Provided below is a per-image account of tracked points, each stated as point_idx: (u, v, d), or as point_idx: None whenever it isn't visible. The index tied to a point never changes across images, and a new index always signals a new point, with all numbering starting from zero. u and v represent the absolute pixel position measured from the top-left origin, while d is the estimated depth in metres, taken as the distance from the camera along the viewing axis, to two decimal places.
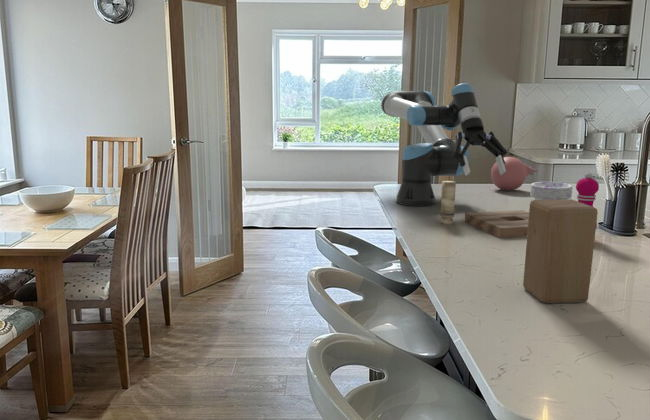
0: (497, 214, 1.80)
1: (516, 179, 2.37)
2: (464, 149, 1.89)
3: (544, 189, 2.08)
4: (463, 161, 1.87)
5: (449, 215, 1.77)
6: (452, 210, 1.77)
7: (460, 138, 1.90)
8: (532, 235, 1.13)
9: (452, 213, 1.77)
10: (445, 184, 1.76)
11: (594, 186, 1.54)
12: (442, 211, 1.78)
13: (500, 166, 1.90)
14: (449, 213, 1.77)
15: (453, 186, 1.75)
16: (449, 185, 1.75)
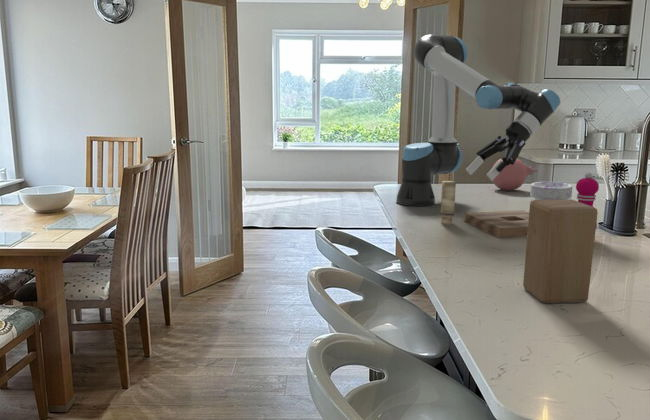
0: (497, 214, 1.80)
1: (516, 179, 2.37)
2: None
3: (544, 189, 2.08)
4: None
5: (449, 215, 1.77)
6: (452, 210, 1.77)
7: None
8: (532, 235, 1.13)
9: (452, 213, 1.77)
10: (445, 184, 1.76)
11: (594, 186, 1.54)
12: (442, 211, 1.78)
13: (474, 167, 1.85)
14: (449, 213, 1.77)
15: (453, 186, 1.75)
16: (449, 185, 1.75)
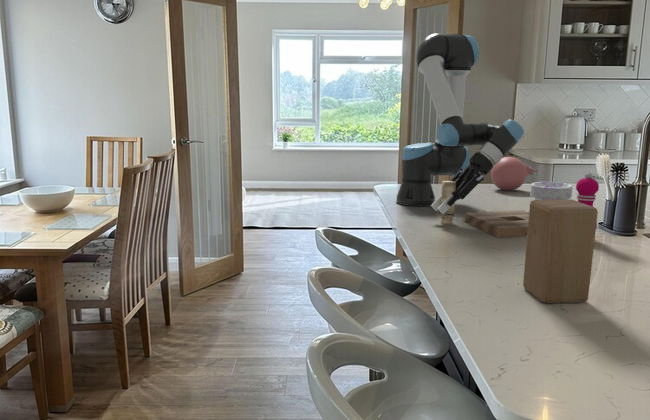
0: (497, 214, 1.80)
1: (516, 179, 2.37)
2: None
3: (544, 189, 2.08)
4: None
5: (449, 215, 1.77)
6: (452, 210, 1.77)
7: None
8: (532, 235, 1.13)
9: (452, 213, 1.77)
10: (445, 184, 1.76)
11: (594, 186, 1.54)
12: None
13: (439, 203, 1.80)
14: (449, 213, 1.77)
15: (453, 186, 1.75)
16: (449, 185, 1.75)
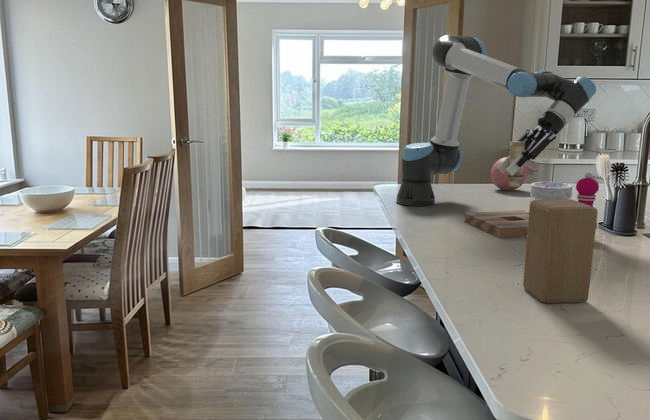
0: (497, 214, 1.80)
1: None
2: None
3: (544, 189, 2.08)
4: None
5: (518, 177, 1.69)
6: (521, 171, 1.69)
7: None
8: (532, 235, 1.13)
9: (521, 175, 1.69)
10: (514, 144, 1.67)
11: (594, 186, 1.54)
12: None
13: (507, 165, 1.72)
14: (518, 175, 1.69)
15: (523, 146, 1.67)
16: (518, 145, 1.67)
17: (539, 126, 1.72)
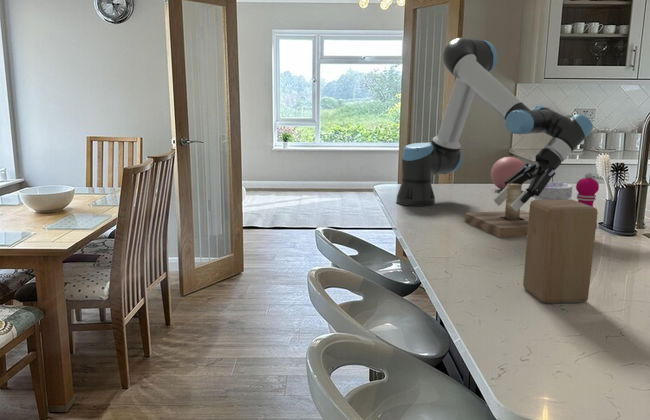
0: (497, 214, 1.80)
1: None
2: None
3: (544, 189, 2.08)
4: None
5: (515, 219, 1.72)
6: (518, 214, 1.72)
7: None
8: (532, 235, 1.13)
9: (518, 217, 1.72)
10: (511, 187, 1.70)
11: (594, 186, 1.54)
12: (507, 215, 1.73)
13: (502, 198, 1.77)
14: (515, 217, 1.72)
15: (519, 189, 1.70)
16: (515, 188, 1.70)
17: (536, 163, 1.74)
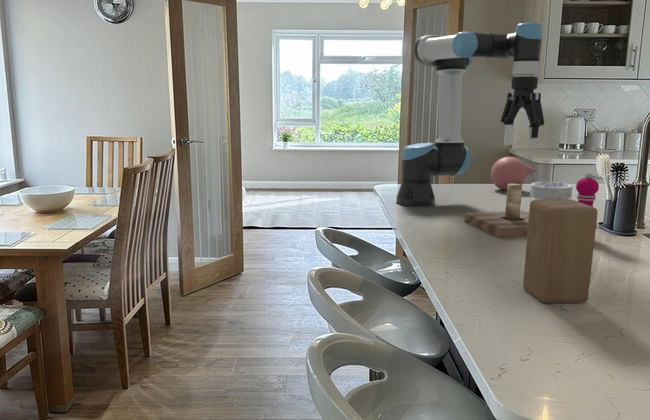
0: (497, 214, 1.80)
1: (516, 179, 2.37)
2: None
3: (544, 189, 2.08)
4: None
5: (515, 219, 1.72)
6: (518, 214, 1.72)
7: None
8: (532, 235, 1.13)
9: (518, 217, 1.72)
10: (511, 187, 1.70)
11: (594, 186, 1.54)
12: (507, 215, 1.73)
13: (509, 137, 1.75)
14: (515, 217, 1.72)
15: (520, 189, 1.70)
16: (516, 188, 1.70)
17: (517, 93, 1.67)
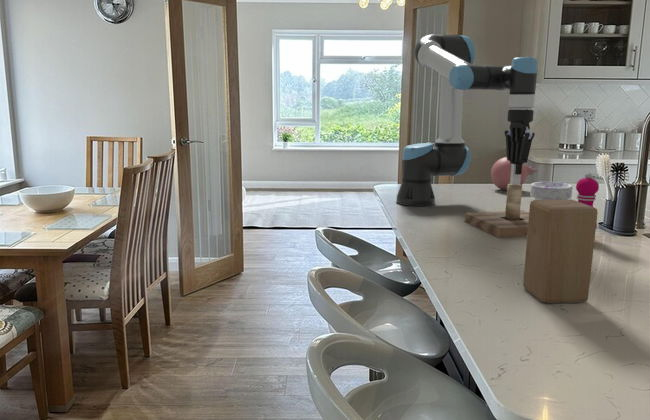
0: (497, 214, 1.80)
1: None
2: None
3: (544, 189, 2.08)
4: None
5: (515, 219, 1.72)
6: (518, 214, 1.72)
7: None
8: (532, 235, 1.13)
9: (518, 217, 1.72)
10: (511, 187, 1.70)
11: (594, 186, 1.54)
12: (507, 215, 1.73)
13: None
14: (515, 217, 1.72)
15: (520, 189, 1.70)
16: (516, 188, 1.70)
17: (512, 123, 1.70)
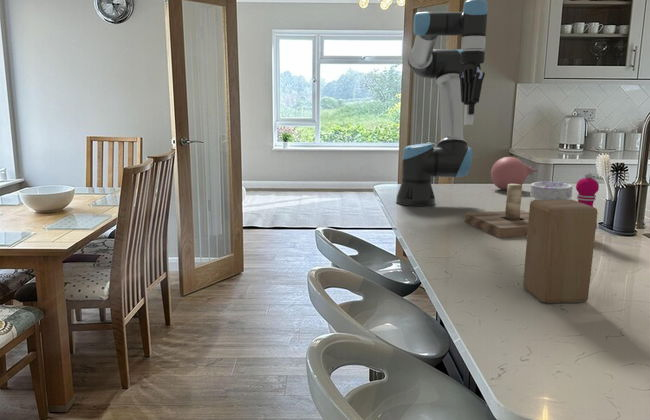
0: (497, 214, 1.80)
1: (516, 179, 2.37)
2: None
3: (544, 189, 2.08)
4: None
5: (515, 219, 1.72)
6: (518, 214, 1.72)
7: None
8: (532, 235, 1.13)
9: (518, 217, 1.72)
10: (511, 187, 1.70)
11: (594, 186, 1.54)
12: (507, 215, 1.73)
13: None
14: (515, 217, 1.72)
15: (520, 189, 1.70)
16: (516, 188, 1.70)
17: (465, 65, 1.77)
